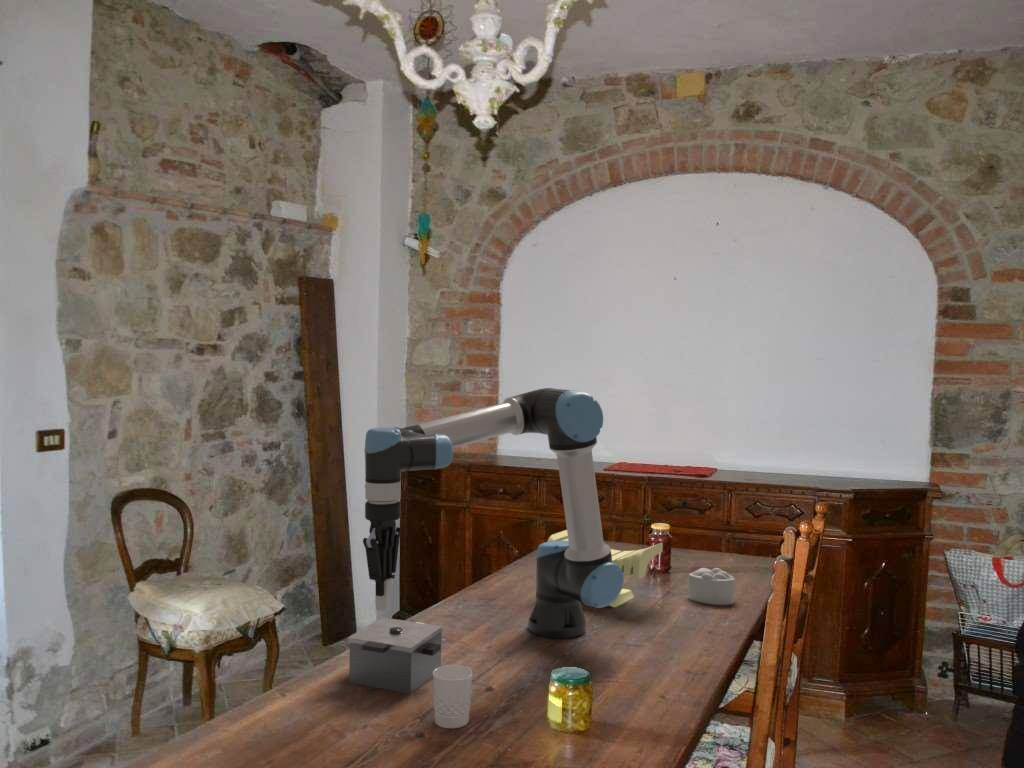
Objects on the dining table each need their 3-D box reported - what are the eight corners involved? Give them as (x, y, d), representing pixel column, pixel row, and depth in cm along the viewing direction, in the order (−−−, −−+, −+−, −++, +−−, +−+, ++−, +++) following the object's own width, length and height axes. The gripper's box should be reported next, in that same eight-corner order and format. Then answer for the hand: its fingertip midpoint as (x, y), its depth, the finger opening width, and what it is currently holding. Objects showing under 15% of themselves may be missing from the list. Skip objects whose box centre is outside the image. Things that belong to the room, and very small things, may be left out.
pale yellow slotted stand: (544, 596, 263) (546, 536, 262) (570, 584, 276) (572, 527, 275) (637, 616, 247) (639, 552, 246) (660, 602, 260) (662, 542, 259)
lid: (443, 629, 203) (443, 623, 203) (404, 656, 186) (405, 649, 186) (383, 620, 209) (383, 613, 209) (340, 646, 191) (340, 638, 191)
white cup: (431, 713, 180) (432, 665, 180) (470, 712, 181) (471, 664, 180) (431, 730, 172) (432, 680, 172) (472, 730, 173) (473, 679, 173)
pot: (450, 671, 203) (451, 632, 202) (420, 696, 189) (421, 654, 188) (373, 658, 210) (374, 620, 209) (339, 681, 195) (340, 640, 195)
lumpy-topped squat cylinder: (698, 591, 273) (699, 563, 272) (739, 599, 265) (740, 570, 265) (684, 599, 264) (685, 570, 264) (726, 607, 257) (727, 578, 256)
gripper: (382, 493, 197) (382, 598, 199) (351, 504, 185) (351, 616, 186) (412, 496, 194) (412, 602, 196) (383, 507, 182) (383, 620, 184)
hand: (382, 609), depth 191 cm, fingers closed
